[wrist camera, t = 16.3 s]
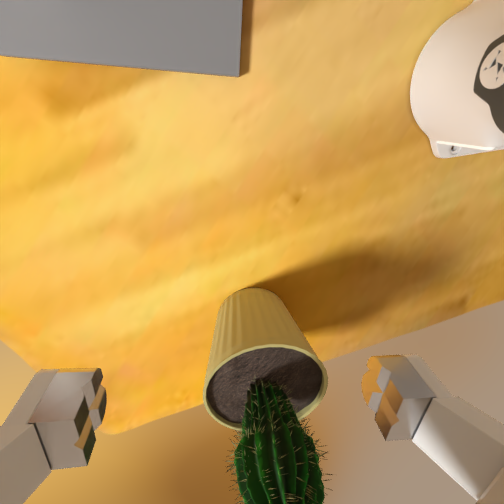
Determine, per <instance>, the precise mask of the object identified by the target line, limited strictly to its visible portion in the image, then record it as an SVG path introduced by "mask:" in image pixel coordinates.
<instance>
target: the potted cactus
mask: <svg viewBox="0 0 504 504" xmlns="http://www.w3.org/2000/svg"><path fill="white" fill-rule="evenodd" d="M327 384H328V377H327V372H326V369H325V367H324V366H323V364H322V362H321V361H320V360H319V359H318V357H317V355H316V354H315V352H314V351H313V349H312V348H311V346H310V344H309V343H308V341H307V340H306V338H305V337H304V335H303V333H302V332H301V330H300V329H299V327H298V326H297V324H296V322H295V321H294V319H293V318H292V316H291V314H290V313H289V311H288V310H287V308H286V306H285V305H284V303H283V302H282V300H281V299H280V298H279V297H278V296H277V295H276V294H274V293H273V292H271V291H269V290H266V289H262V288H246V289H242V290H239V291H237V292H235V293H233V294H232V295H230V296H229V297H228V298H227V299H226V300H225V301H224V302H223V303H222V305H221V307H220V309H219V312H218V315H217V320H216V325H215V331H214V336H213V341H212V346H211V351H210V356H209V362H208V367H207V372H206V376H205V384H204V389H203V401H204V405H205V408H206V409H207V411H208V413H209V414H210V415H211V416H212V417H213V418H214V419H215V420H216V421H217V422H219V423H220V424H222V425H224V426H226V427H228V428H231V429H234V430H237V431H239V432H240V431H242V434H241V435H240V434H239V433H238V434H239V435H240V437H241V436H242V437H241V438H239V439H241V441H239V442H240V443H236V444H238V447H237V449H235V452H234V453H235V460H234V464H235V465H234V464H232V465H234V466H236V473H234V474H237V481H238V482H236V483H238V485H239V490H240V493H241V494H239V496H240V495H242V497H243V500H244V503H245V504H322V502H323V500H324V485H323V483H322V480H321V476H322V472H321V470H320V468H319V465H318V463H319V462H318V461H319V457H320V456H322V455H323V454H325V453H327V452H325V453H323V454H322V455H320V454H319V453H318V454H319V455H320V456H318V454H317V452H315V445H314V443H313V439H312V437H310V436H308V435H307V434H308V432H307V434H306V429H305V428H308V427H304V428H303V429H305V431H304V430H303V429H302V428H301V425H302V424H300V423H299V421H300V420H302V419H303V418H304V417H306V416H307V415H308V414H309V413H311V412H312V411H313V410H314V409H315V408H316V407H317V406H318V405H319V403H320V402H321V400H322V399H323V397H324V395H325V393H326V389H327ZM302 422H303V421H302ZM306 425H307V424H306ZM306 425H305V426H306ZM311 436H312V434H311ZM237 438H238V437H237ZM317 441H318V440H317ZM317 441H315V442H317ZM232 443H233V442H232ZM233 444H234V443H233ZM319 447H322V446H319ZM316 450H317V449H316ZM317 451H318V450H317ZM319 451H320V450H319ZM322 452H323V451H322ZM232 455H234V454H232ZM230 456H231V455H230ZM230 462H231V461H230ZM232 467H233V466H232ZM232 467H231V468H232ZM231 468H230V469H229V470H231ZM232 469H234V468H232ZM227 471H228V470H227ZM329 475H330V474H329ZM331 475H332V474H331ZM325 481H326V480H325ZM240 502H243V501H240ZM238 503H239V502H238Z"/></svg>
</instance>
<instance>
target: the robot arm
mask: <svg viewBox="0 0 504 504" xmlns="http://www.w3.org/2000/svg"><path fill="white" fill-rule="evenodd" d="M410 102H411V108H412V112H413V115H414V118H415V120H416V122H417V124H418V125H419V127H420V128H421V129H422V130H423V131H424V132H425V134H426V135H427V136H428V137H429V139H430V143H431V148H432V151H433V154H434V155H435V156H436V157H437V158H450V157H457V156H463V155H470V154H476V153H482V152H489V151H495V150H502V149H504V0H474V1H473V2H472V3H471V4H470V5H469V6H468V7H466V8H465V9H463V10H461V11H460V12H458V13H457V14H455V15H453V16H452V17H451V18H449V19H448V20H447V21H445V22H444V23H443V24H442V25H441V26H440V27H439V28H438V29H437V30H436V31H435V33H434V34H433V35H432V36H431V38H430V39H429V40H428V42H427V43H426V45H425V47H424V48H423V50H422V52H421V54H420V56H419V58H418V60H417V63H416V66H415V68H414V72H413V76H412V80H411V88H410ZM452 146H454V147H453V149H452V150H451V148H452ZM367 367H368V368H369V371H368V372H366V373H365V374H364V375H363V378H362V382H361V386H362V393H363V397H364V400H365V402H366V404H367V406H368V407H370V408H371V409H372V410H373V411H374V412H376V414H375V421H376V423H377V425H378V427H379V429H380V431H381V433H382V435H383V437H384V439H385V441H390V440H409V439H413V440H412V441H413V442H414V443H415V444H416V445H417V446H418V447H419V448H420V449H421V450H422V451H424V452H425V453H426V454H427V455H428V456H429V457H430V458H431V459H432V460H433V461H434V462H436V463H437V464H438V465H439V466H440V467H441V468H442V469H443V470H444V471H445V472H446V473H447V474H449V475H450V476H451V477H452V478H453V479H454V480H455V481H456V482H457V483H458V484H459V485H461V486H462V487H463V488H464V489H465V490H466V491H467V492H468V493H469V494H470V495H472V496H473V497H474V498H475V499H476V500H477V502H476V504H504V424H502V423H501V422H499V421H497V420H496V419H494V418H492V417H491V416H489V415H487V414H486V413H484V412H483V411H481V410H479V409H478V408H476V407H474V406H473V405H471V404H469V403H468V402H466V401H465V400H463V399H461V398H459V397H453V396H452V394H451V393H450V392H449V391H448V389H447V388H446V387H445V386H444V385H443V384H442V382H441V381H440V380H439V378H438V377H437V376H436V375H435V374H434V372H432V370H431V369H430V367H429V366H428V365H427V364H426V363H425V361H424V360H423V359H422V358H421V357H420V356H419V355H417V354H408V355H386V356H372V357H370V359H369V360H368V363H367ZM102 378H103V375H102V371H101V369H100V368H70V369H41V370H40V371H38V372H37V373H36V374H35V375H34V377H33V378H32V380H31V381H30V383H29V385H28V386H27V388H26V389H25V391H24V392H23V394H22V396H21V397H20V399H19V400H18V402H17V403H16V405H15V406H14V408H13V409H12V411H11V413H10V414H9V416H8V417H7V419H6V420H5V422H4V423H3V425H2V426H0V504H23V503H24V502H25V501H26V500H27V499H28V497H29V496H30V495H31V494H32V493H33V492H34V491H35V489H37V487H38V486H39V485H40V484H41V483H42V482H43V481H44V480H45V478H46V477H47V476H48V475H49V474H50V473H51V470H54V469H63V468H71V467H81V466H87V465H88V462H89V459H90V456H91V453H92V450H93V447H94V444H95V441H96V438H95V433H94V430H95V429H97V428H98V427H99V426H100V425H101V424H102V420H103V417H104V414H105V408H106V390H105V388H104V387H103V386H102V385H100V384H101V381H102Z"/></svg>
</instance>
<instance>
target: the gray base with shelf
mask: <svg viewBox="0 0 504 504" xmlns="http://www.w3.org/2000/svg"><path fill="white" fill-rule="evenodd" d="M242 1H243V0H0V55H1V56H6V57H18V58H29V59H40V60H51V61H62V62H74V63H85V64H96V65H107V66H118V67H129V68H141V69H152V70H163V71H174V72H185V73H197V74H208V75H219V76H230V77H239V69H240V46H241V24H242Z"/></svg>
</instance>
